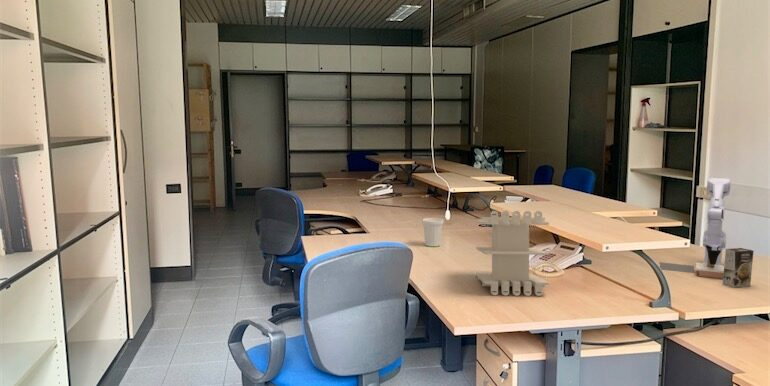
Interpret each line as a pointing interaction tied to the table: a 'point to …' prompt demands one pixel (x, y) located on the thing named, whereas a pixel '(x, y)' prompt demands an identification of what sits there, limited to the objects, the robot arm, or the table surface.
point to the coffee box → (738, 267)
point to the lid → (709, 267)
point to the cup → (432, 231)
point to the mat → (677, 267)
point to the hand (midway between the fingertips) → (711, 262)
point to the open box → (710, 274)
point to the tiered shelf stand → (512, 253)
